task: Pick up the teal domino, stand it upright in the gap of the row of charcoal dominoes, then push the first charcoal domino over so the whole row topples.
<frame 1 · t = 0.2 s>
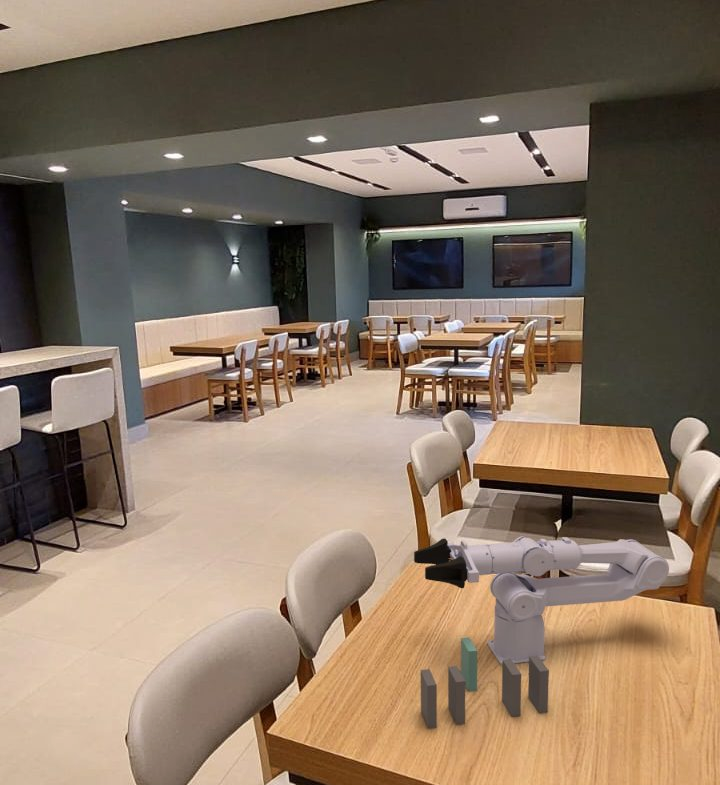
hand: (419, 565, 118), 21 cm above the table, tool horizontal, fingers open, 7 cm apart
domino 4: (456, 715, 106), on the table
teal domino: (468, 683, 115), on the table
domino 2: (511, 708, 108), on the table
domino 5: (428, 719, 106), on the table
domino 1: (537, 704, 109), on the table
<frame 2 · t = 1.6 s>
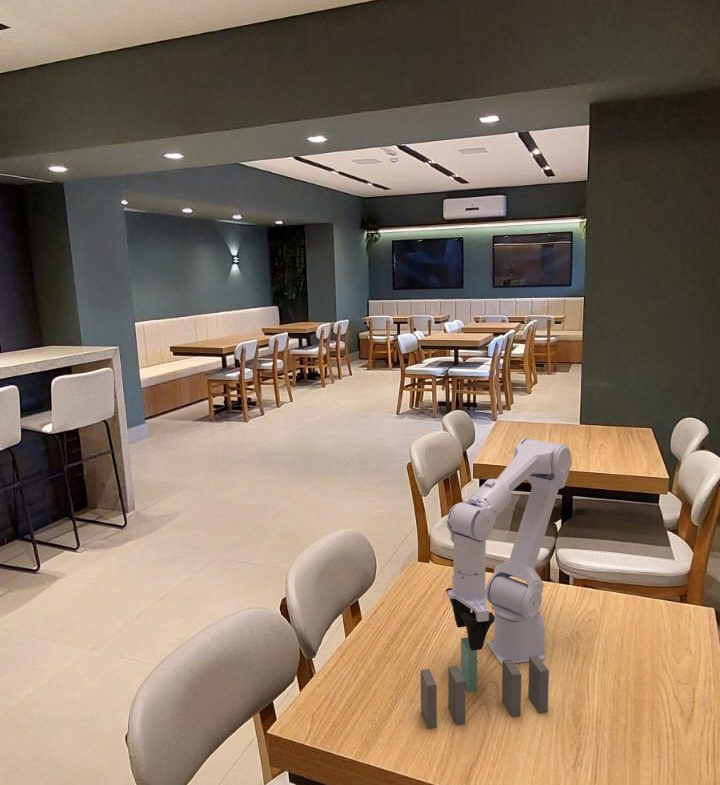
hand: (469, 637, 113), 9 cm above the table, tool pointing down, fingers open, 7 cm apart
nothing on the table moved.
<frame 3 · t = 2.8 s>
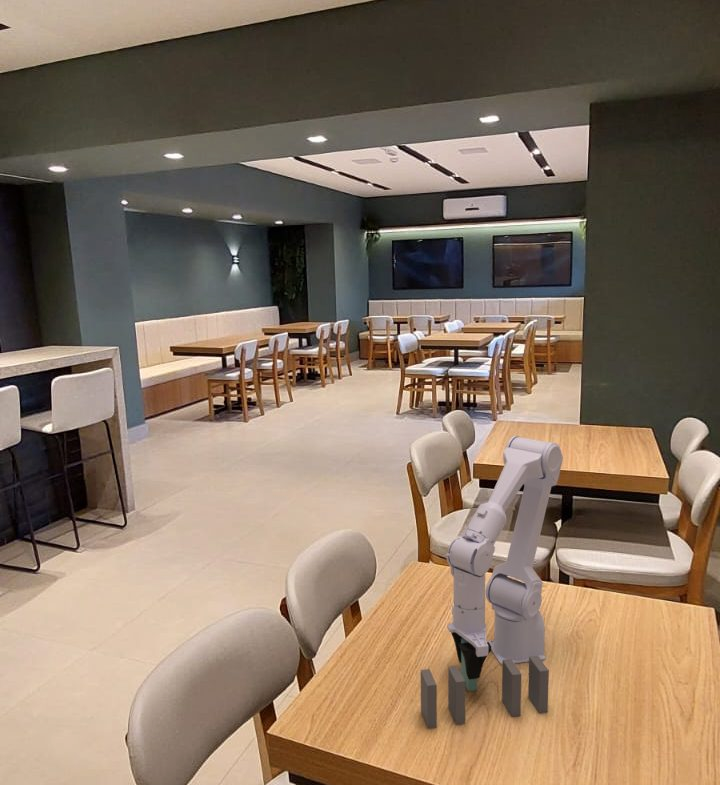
hand: (468, 669, 114), 3 cm above the table, tool pointing down, fingers closed on teal domino, 4 cm apart
teal domino: (468, 683, 115), on the table, touching gripper
everything else where it was.
when the fingers open (4 cm above the table, at t = 6.5 s): teal domino drops 1 cm, on the table.
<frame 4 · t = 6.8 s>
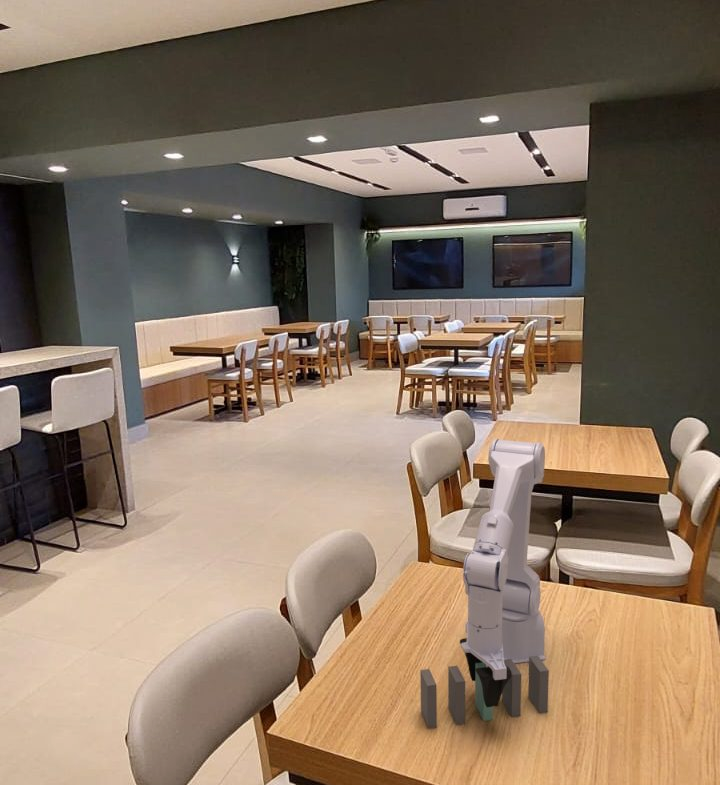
hand: (484, 691, 107), 4 cm above the table, tool pointing down, fingers open, 6 cm apart
teal domino: (483, 711, 107), on the table
everything else where it was.
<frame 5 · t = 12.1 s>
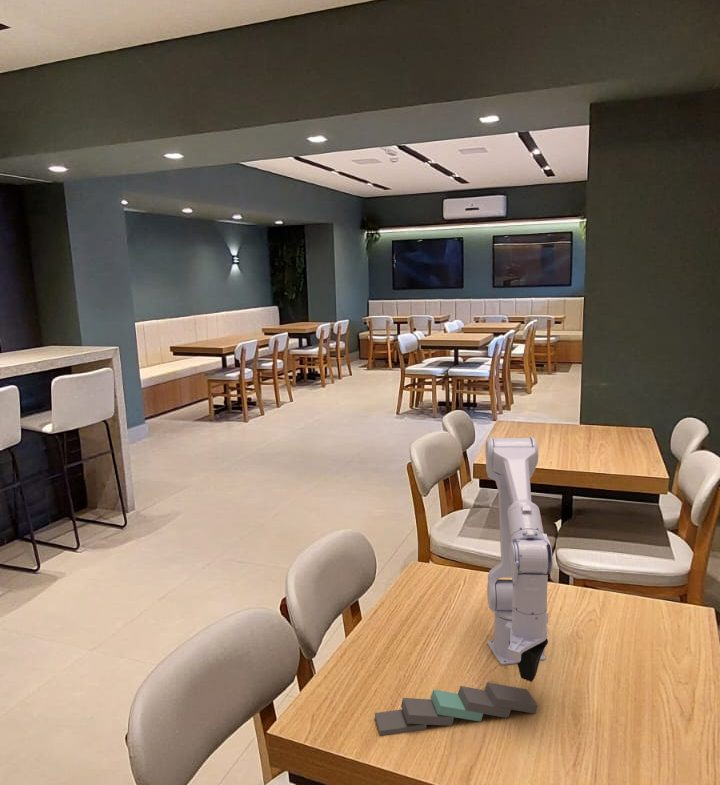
hand: (527, 678, 107), 5 cm above the table, tool pointing down, fingers closed
domino 4: (448, 712, 106), point 1 cm above the table, tilted 78°, touching teal domino
teal domino: (477, 708, 107), point 1 cm above the table, tilted 72°, touching domino 2, domino 4
domino 2: (504, 705, 107), point 1 cm above the table, tilted 71°, touching domino 1, teal domino
domino 5: (422, 719, 105), on the table, tilted 90°
domino 1: (530, 701, 108), point 1 cm above the table, tilted 71°, touching domino 2
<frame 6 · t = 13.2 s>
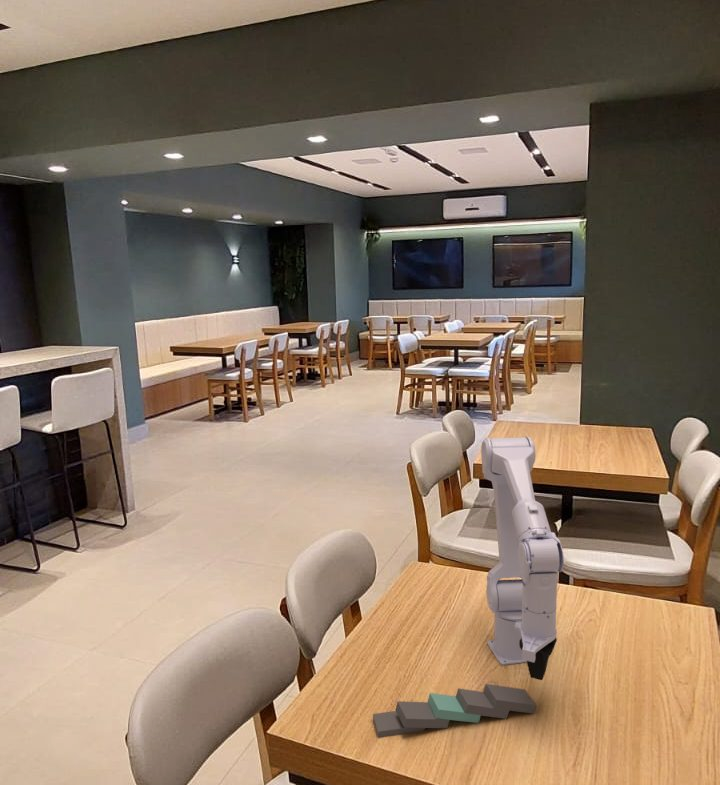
hand: (537, 676, 108), 5 cm above the table, tool pointing down, fingers closed
domino 4: (443, 715, 105), point 1 cm above the table, tilted 75°, touching domino 5, teal domino
domino 5: (421, 720, 105), on the table, tilted 90°, touching domino 4
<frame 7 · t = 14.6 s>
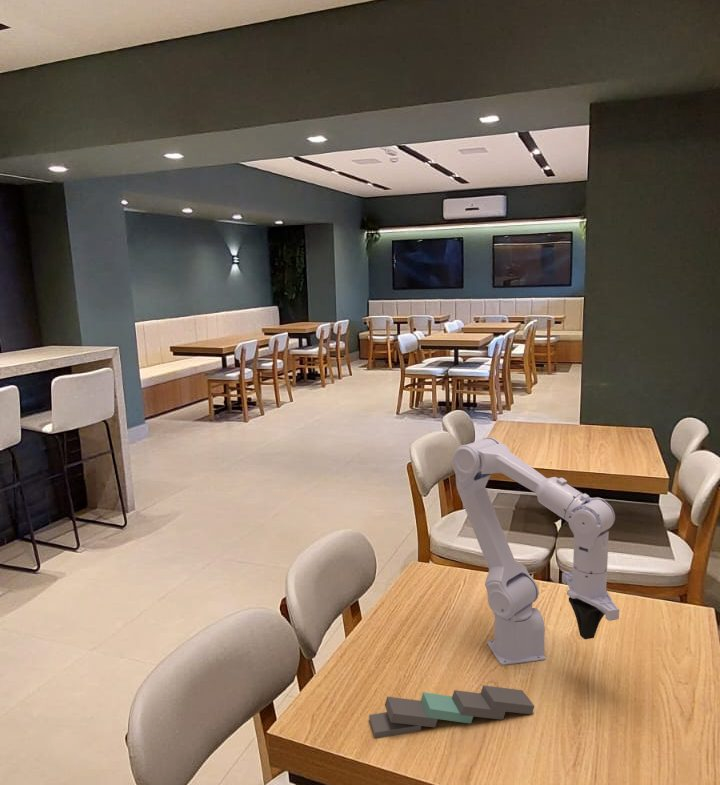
hand: (587, 636, 112), 10 cm above the table, tool pointing down, fingers closed
domino 4: (432, 714, 105), point 1 cm above the table, tilted 73°, touching domino 5, teal domino
teal domino: (467, 710, 106), point 1 cm above the table, tilted 73°, touching domino 2, domino 4
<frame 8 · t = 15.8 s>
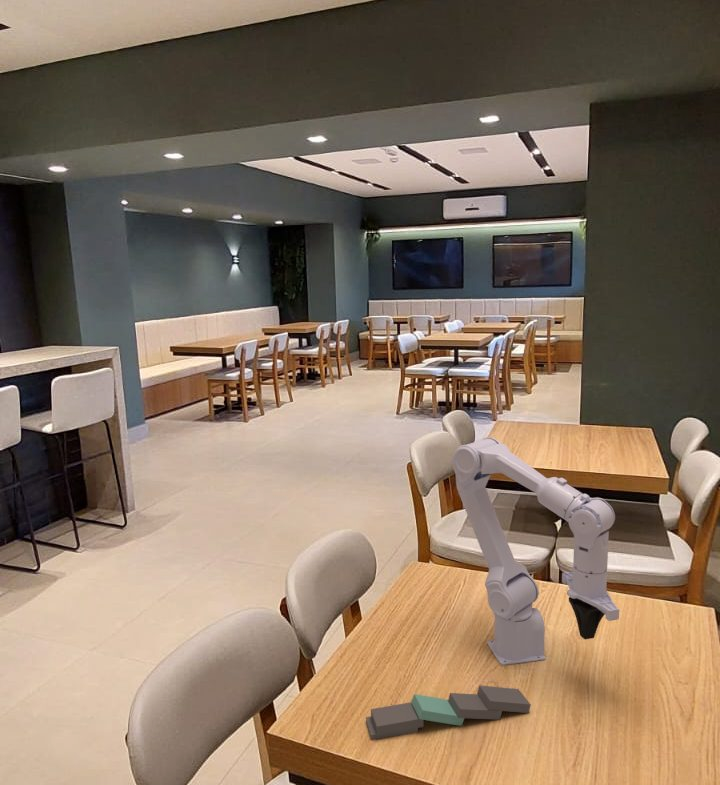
hand: (587, 636, 112), 10 cm above the table, tool pointing down, fingers closed
domino 4: (419, 713, 105), point 2 cm above the table, tilted 90°, touching domino 5, teal domino
teal domino: (458, 713, 106), point 1 cm above the table, tilted 69°, touching domino 2, domino 4
at the end: teal domino inside the target area (1.2 cm from its centre), point 0.7 cm above the table; domino 1 tilted 74°; domino 5 tilted 90° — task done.
